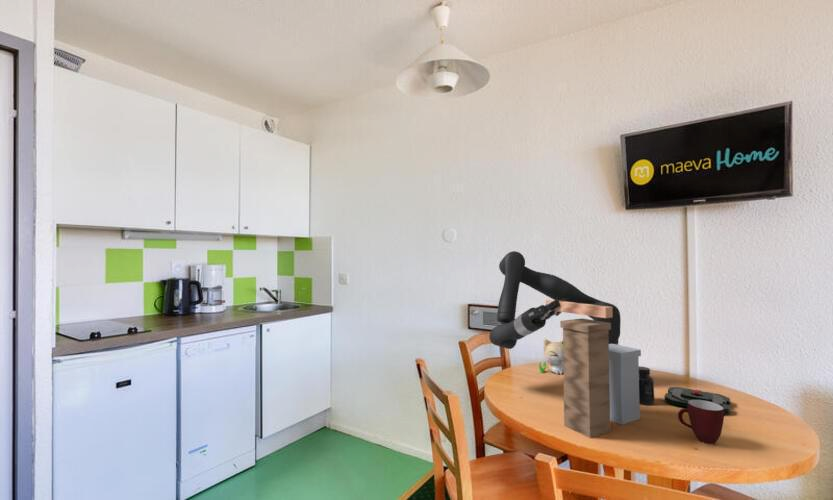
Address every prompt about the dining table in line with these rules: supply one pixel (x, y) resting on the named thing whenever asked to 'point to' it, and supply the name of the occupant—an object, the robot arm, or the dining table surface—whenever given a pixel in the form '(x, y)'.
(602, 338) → the tall pedestal
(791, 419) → the dining table surface
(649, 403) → the supplement bottle
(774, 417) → the dining table surface
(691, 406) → the mug
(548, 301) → the terracotta bar
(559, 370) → the kitten
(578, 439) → the dining table surface
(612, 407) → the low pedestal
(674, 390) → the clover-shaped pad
